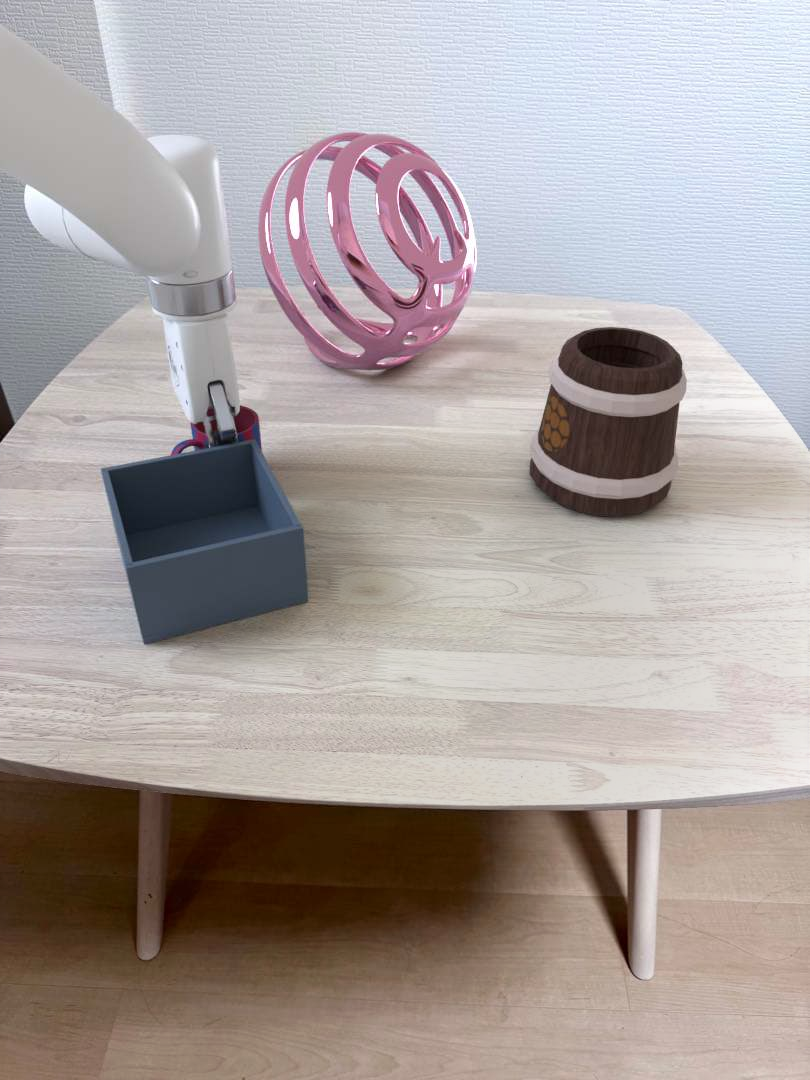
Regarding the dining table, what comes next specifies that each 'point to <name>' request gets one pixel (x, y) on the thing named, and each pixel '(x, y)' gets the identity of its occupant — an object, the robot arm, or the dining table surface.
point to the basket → (205, 538)
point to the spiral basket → (420, 259)
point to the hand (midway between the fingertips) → (218, 457)
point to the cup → (243, 422)
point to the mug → (610, 423)
